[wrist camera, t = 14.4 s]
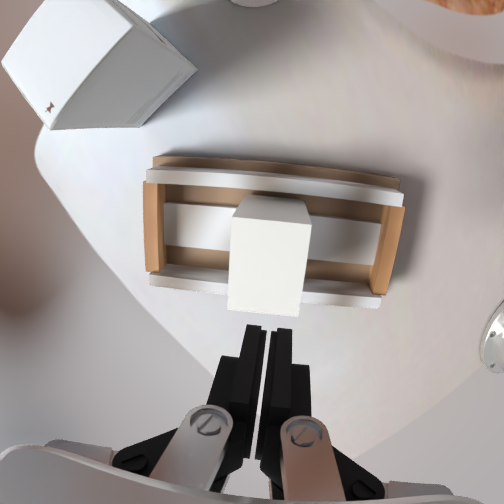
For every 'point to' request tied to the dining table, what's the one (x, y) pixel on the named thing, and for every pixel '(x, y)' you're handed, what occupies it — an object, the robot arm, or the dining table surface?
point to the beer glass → (253, 2)
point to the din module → (268, 255)
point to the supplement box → (94, 65)
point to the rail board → (274, 185)
